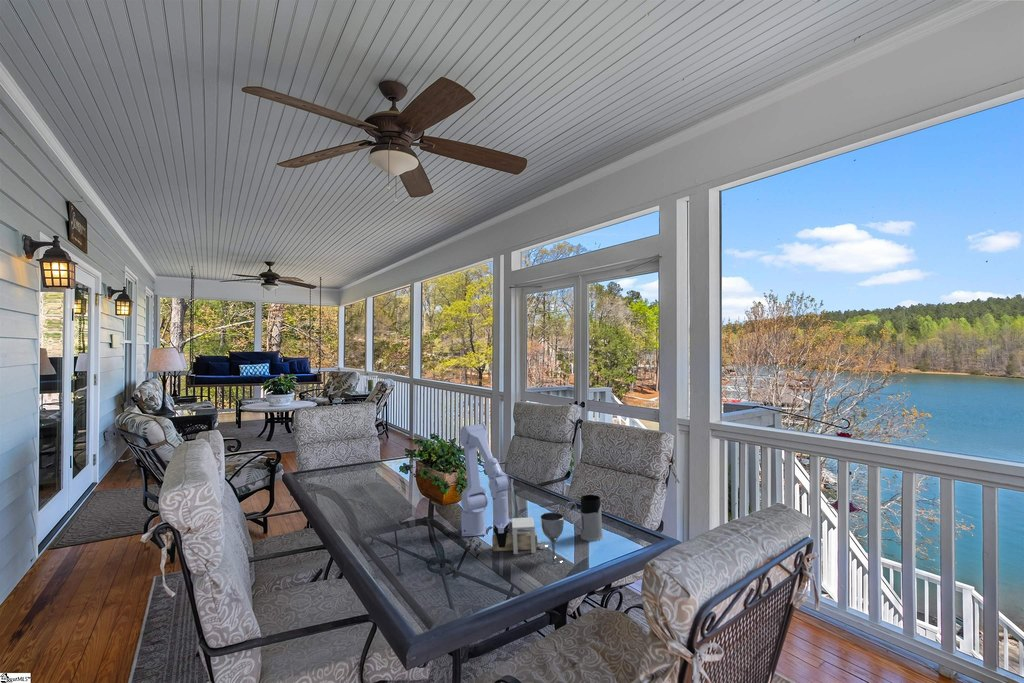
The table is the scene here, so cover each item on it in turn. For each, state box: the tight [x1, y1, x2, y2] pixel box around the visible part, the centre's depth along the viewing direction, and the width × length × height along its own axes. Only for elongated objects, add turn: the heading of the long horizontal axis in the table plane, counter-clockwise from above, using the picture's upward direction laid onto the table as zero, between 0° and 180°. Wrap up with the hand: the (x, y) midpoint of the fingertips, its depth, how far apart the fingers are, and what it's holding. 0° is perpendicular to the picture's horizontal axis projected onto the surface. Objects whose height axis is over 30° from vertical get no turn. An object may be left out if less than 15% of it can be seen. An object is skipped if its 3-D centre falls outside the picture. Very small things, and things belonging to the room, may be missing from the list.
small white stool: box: [511, 517, 537, 555], centre depth 173 cm, size 8×10×10 cm
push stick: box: [491, 532, 539, 552], centre depth 173 cm, size 16×2×5 cm, turn 91°
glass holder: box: [565, 494, 604, 542], centre depth 181 cm, size 9×14×15 cm, turn 90°
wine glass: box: [540, 511, 565, 565], centre depth 163 cm, size 8×8×15 cm
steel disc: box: [537, 541, 550, 551], centre depth 173 cm, size 4×4×1 cm
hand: (502, 545), depth 173 cm, fingers closed on push stick, 2 cm apart
